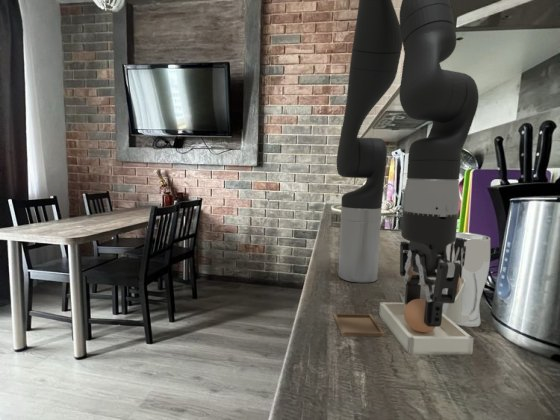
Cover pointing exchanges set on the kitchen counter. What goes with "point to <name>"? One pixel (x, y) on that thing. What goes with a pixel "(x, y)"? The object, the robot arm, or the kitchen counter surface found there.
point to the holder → (358, 325)
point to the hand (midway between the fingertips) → (421, 314)
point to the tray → (426, 333)
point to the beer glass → (468, 277)
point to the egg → (416, 315)
